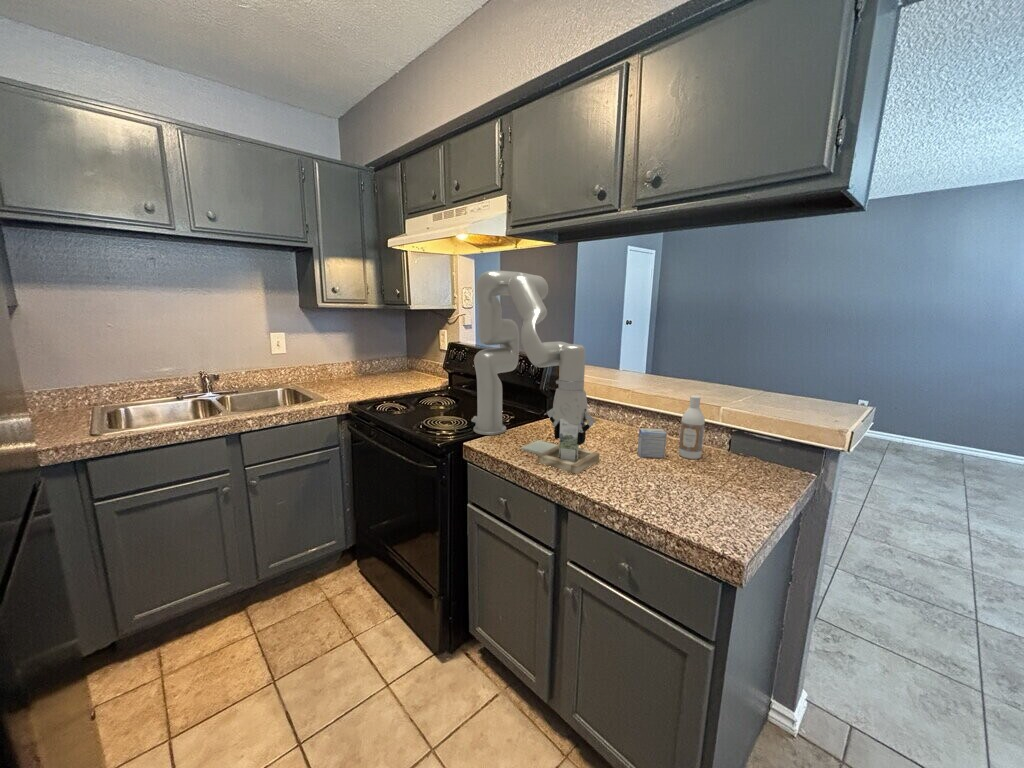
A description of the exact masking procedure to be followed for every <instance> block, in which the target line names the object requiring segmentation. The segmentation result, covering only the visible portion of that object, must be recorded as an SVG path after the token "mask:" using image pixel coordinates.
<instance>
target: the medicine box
mask: <svg viewBox="0 0 1024 768" xmlns="http://www.w3.org/2000/svg"><path fill="white" fill-rule="evenodd" d="M667 435H668V434H667V432H666V431H665V430H664V429H663V428H648V427H647V428H642V427H641V428H638V439H637V441H638V442H637V454H638V456H639V457H640V458H657V459H658V458H659V459H665V458H666V456H665V455H666V445H667Z"/></svg>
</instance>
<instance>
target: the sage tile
mask: <svg viewBox="0 0 1024 768" xmlns="http://www.w3.org/2000/svg"><path fill="white" fill-rule="evenodd" d="M558 445H559V444H555V443H552V442H548V441H544V440H540V439H537V440H535V441H533V442H530V443H528V444H526V445H524V446H521V447H520V450H521V451H524V450H525V452H527V451H528V453H531V452H532V453H531V454H534V455H538V454H541V453H543V452H545V451H547V450H549V449H551V448H553V447H556V446H558Z"/></svg>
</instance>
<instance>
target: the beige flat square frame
mask: <svg viewBox="0 0 1024 768" xmlns="http://www.w3.org/2000/svg"><path fill="white" fill-rule="evenodd" d="M557 445H558V446H556V447H553V448H551V449H549V450H547V451H545V452H543V453H541V454H539V455H538V454H537V464H539V463H541V464H540V465H543V464H545V465H544V466H546V465H548V466H547V467H549V466H551V467H550V468H553V467H554V468H553V469H556V468H557V470H559V469H561V470H560V471H563V470H564V471H563V472H566V471H567V473H569V472H571V473H570V474H573V473H575V474H574V475H576V474H577V475H579V474H580V473H582V472H583V471H585V470H586V468H587V469H588V468H590V467H591V466H593V465H594V464H596V463H597V462H599V461H600V453H599V452H596V451H592V450H589V449H586V448H585V449H584V448H581V447H578V461H577V462H575V463H573V462H570V461H566V460H563V459H559V444H557ZM557 456H558V457H557ZM555 457H556V458H555ZM581 458H582V459H581ZM589 466H590V467H589ZM584 469H585V470H584ZM581 471H582V472H581ZM579 472H580V473H579ZM578 473H579V474H578Z"/></svg>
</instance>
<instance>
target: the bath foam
mask: <svg viewBox="0 0 1024 768" xmlns="http://www.w3.org/2000/svg"><path fill="white" fill-rule="evenodd" d="M700 405H701V396H699V395H690V398H689V407H688V408H687V409H686V410H685V412H683V414H682V417H681V422H680V432H679V443H678V444H679V445H678V455H679V456H680V457H682V458H683V459H688V460H698V459H700V458H701V457H702V453H703V447H704V446H703V444H704V434H705V423H706V421H705V416H704V413H703V411H702V410H701V408H700Z"/></svg>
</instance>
